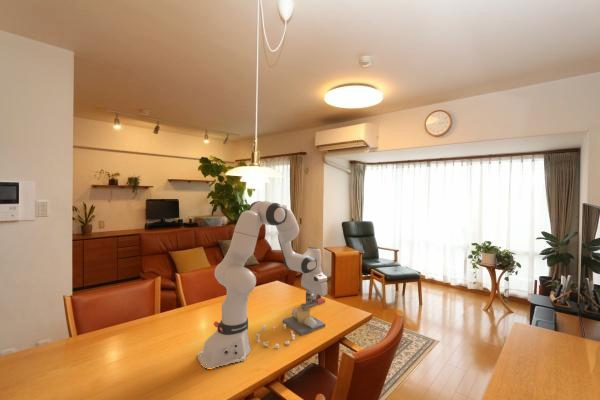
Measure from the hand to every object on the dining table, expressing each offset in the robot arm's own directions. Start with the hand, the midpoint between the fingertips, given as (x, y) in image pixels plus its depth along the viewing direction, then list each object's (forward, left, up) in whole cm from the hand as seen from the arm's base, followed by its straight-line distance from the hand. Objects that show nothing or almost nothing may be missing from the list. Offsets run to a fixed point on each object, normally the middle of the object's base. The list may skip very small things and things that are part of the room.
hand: (313, 298), depth 159 cm
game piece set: (-30, -8, -10) cm, 33 cm away
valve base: (-11, -6, -10) cm, 16 cm away
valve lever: (-5, -6, -1) cm, 8 cm away
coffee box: (+11, +13, -10) cm, 19 cm away
